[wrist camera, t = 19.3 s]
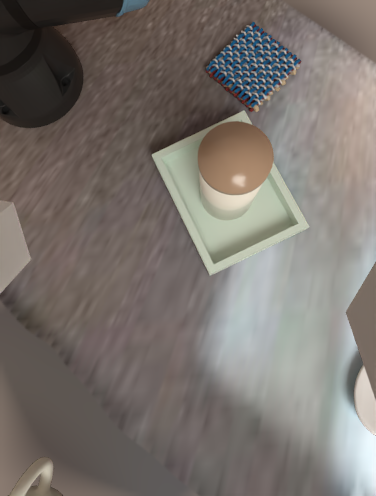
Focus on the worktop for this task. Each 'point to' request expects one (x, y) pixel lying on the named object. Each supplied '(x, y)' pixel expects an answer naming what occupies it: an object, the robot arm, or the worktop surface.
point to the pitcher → (43, 492)
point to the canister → (232, 168)
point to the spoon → (365, 401)
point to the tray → (227, 231)
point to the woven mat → (242, 60)
